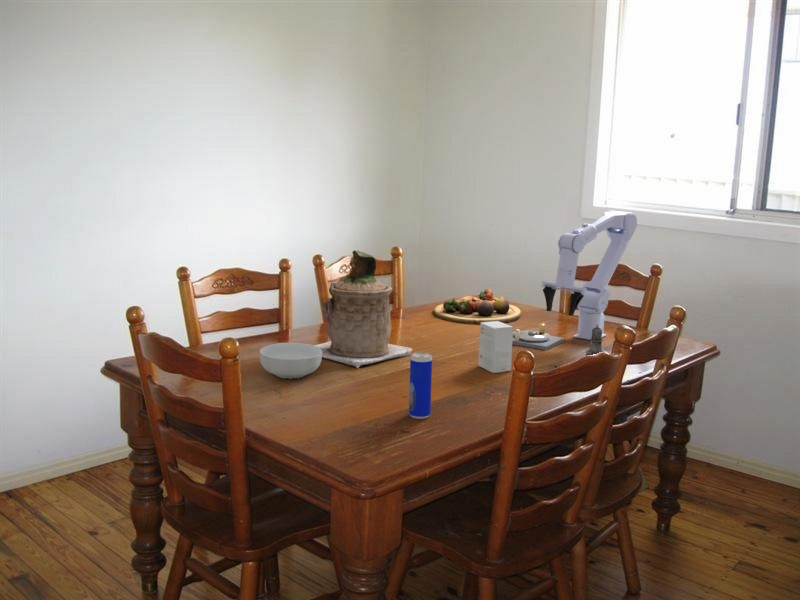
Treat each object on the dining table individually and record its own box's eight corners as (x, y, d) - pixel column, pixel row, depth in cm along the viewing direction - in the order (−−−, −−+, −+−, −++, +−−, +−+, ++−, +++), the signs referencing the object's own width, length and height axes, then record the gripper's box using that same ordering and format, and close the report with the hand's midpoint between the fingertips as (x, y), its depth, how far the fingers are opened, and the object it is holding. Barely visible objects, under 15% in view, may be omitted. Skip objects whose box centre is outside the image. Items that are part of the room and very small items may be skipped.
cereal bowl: (271, 387, 221) (271, 361, 220) (251, 370, 236) (251, 345, 234) (331, 379, 229) (331, 354, 228) (308, 363, 243) (308, 339, 242)
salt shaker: (605, 367, 247) (608, 327, 244) (584, 366, 248) (587, 326, 246) (604, 362, 252) (607, 323, 250) (584, 360, 254) (587, 321, 251)
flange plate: (519, 330, 282) (520, 319, 282) (555, 337, 275) (556, 325, 275) (504, 337, 274) (504, 325, 273) (540, 343, 266) (541, 331, 266)
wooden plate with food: (463, 302, 334) (463, 281, 332) (536, 313, 316) (537, 291, 314) (416, 317, 309) (417, 295, 307) (493, 330, 291) (493, 307, 289)
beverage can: (407, 412, 205) (409, 352, 201) (429, 412, 205) (431, 352, 202) (409, 419, 200) (411, 357, 196) (431, 419, 200) (433, 357, 197)
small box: (511, 371, 241) (513, 326, 238) (492, 373, 238) (494, 328, 236) (496, 363, 248) (498, 320, 245) (477, 366, 245) (479, 322, 243)
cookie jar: (415, 354, 256) (418, 249, 250) (357, 370, 238) (358, 257, 232) (358, 339, 272) (360, 240, 266) (299, 353, 255) (299, 247, 248)
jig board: (519, 333, 284) (520, 319, 283) (564, 341, 275) (565, 327, 274) (500, 342, 273) (500, 327, 272) (545, 350, 264) (546, 335, 263)
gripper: (540, 267, 269) (533, 309, 271) (583, 274, 262) (576, 317, 263) (549, 267, 275) (543, 308, 277) (591, 274, 267) (584, 317, 269)
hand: (559, 313), depth 270 cm, fingers open, 7 cm apart
